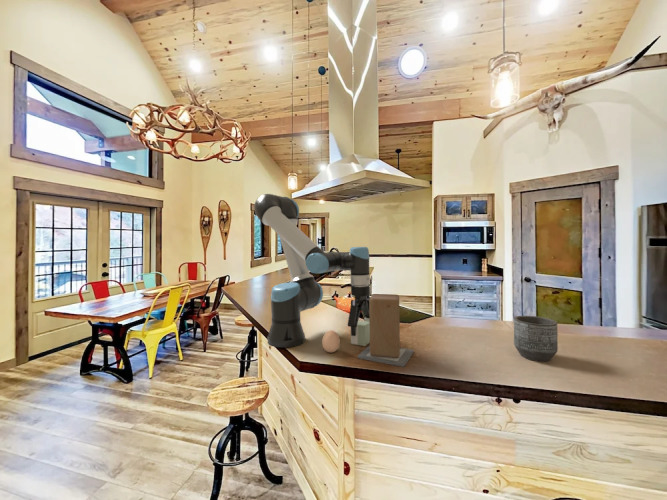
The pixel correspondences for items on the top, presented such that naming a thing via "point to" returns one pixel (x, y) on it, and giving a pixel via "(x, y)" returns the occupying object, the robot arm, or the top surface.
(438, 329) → the top surface
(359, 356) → the slate mat
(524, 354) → the planter
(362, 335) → the sage block
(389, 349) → the wooden block
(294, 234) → the robot arm
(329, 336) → the egg
